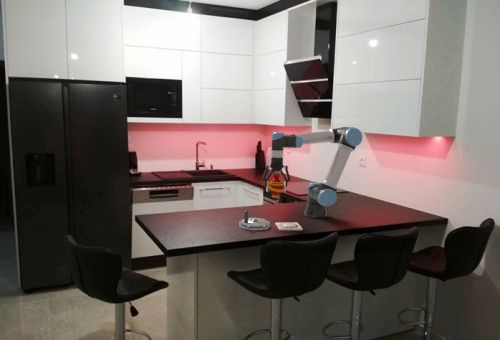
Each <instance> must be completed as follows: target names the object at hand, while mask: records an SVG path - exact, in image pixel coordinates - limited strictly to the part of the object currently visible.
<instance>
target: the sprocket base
mask: <svg viewBox="0 0 500 340" xmlns="http://www.w3.org/2000/svg"><path fill="white" fill-rule="evenodd" d="M238 227H239V229H243V230H245V231H251V230H252V231H253V232H258V231H267V230H269V229H271V225H270V224H268V225H267V226H266V227H261V228H251V227H246V226H243V225H242V224H239V223H238Z"/></svg>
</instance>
